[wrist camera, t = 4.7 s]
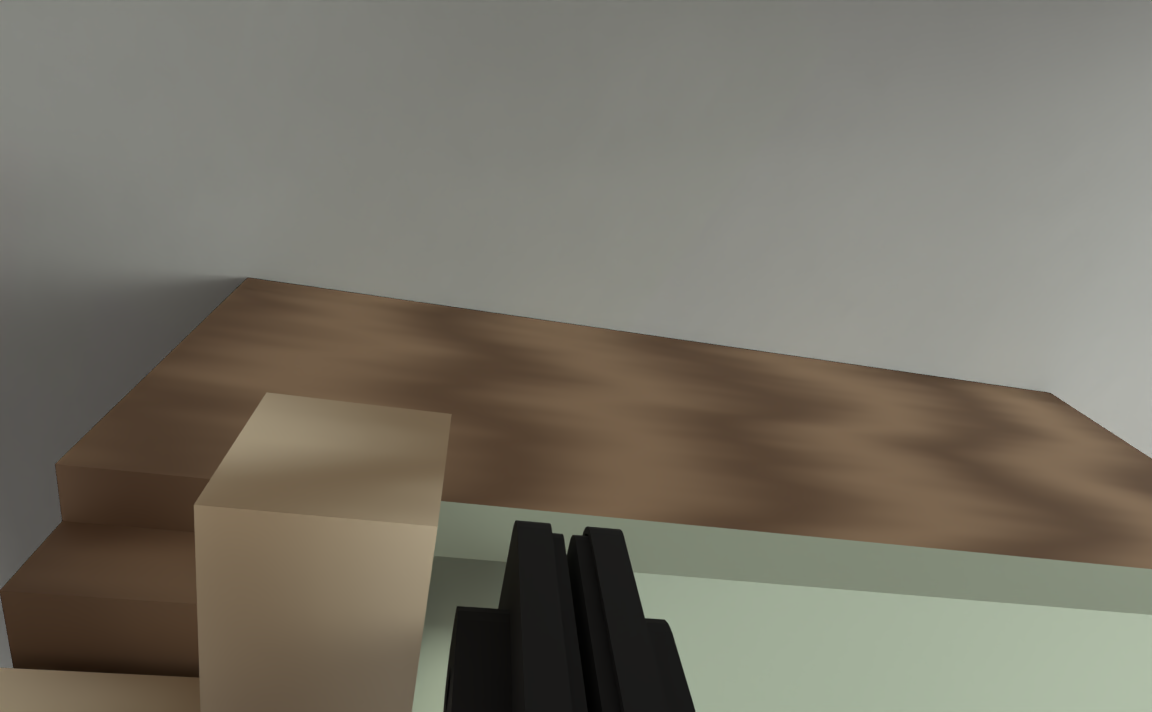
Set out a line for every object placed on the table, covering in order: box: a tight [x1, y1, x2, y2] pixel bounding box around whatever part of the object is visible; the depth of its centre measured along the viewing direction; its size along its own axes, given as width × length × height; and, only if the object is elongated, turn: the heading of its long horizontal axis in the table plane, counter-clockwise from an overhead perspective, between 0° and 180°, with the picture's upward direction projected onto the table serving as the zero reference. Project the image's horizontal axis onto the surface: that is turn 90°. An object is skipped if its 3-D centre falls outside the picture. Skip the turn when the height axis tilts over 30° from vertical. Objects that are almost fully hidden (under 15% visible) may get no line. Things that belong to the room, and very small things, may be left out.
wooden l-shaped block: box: [0, 392, 452, 712], centre depth 10 cm, size 8×8×2 cm
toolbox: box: [0, 278, 1152, 678], centre depth 21 cm, size 28×16×12 cm, turn 79°
